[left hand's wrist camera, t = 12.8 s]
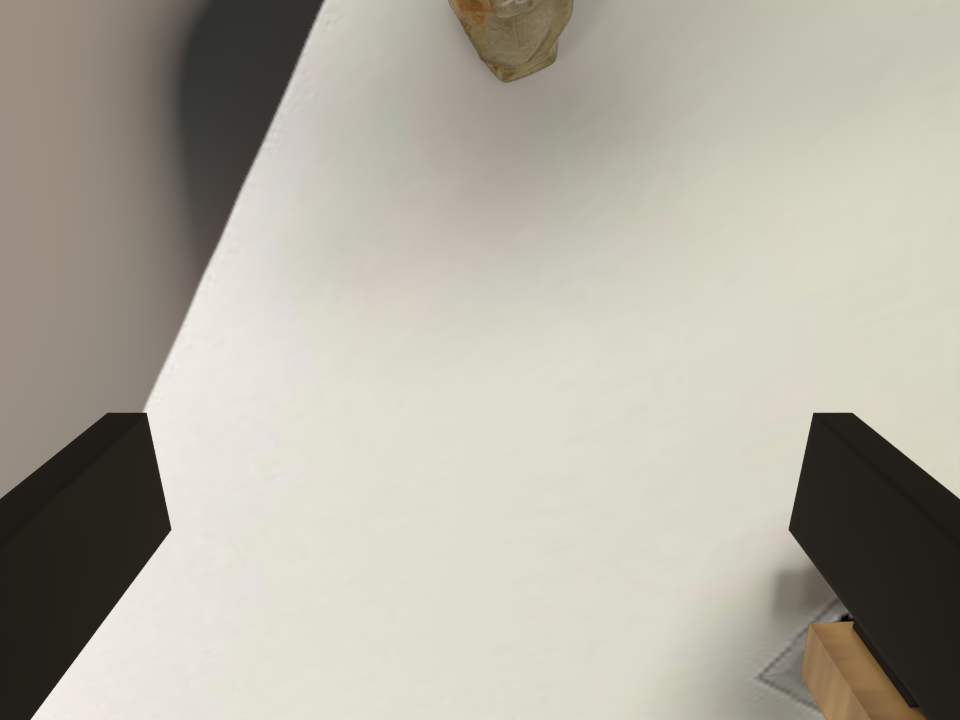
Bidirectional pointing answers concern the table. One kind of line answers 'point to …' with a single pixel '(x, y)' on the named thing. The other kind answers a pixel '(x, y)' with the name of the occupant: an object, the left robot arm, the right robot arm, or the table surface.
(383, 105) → the table surface
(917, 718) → the bar
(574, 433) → the table surface
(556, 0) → the sculpture
